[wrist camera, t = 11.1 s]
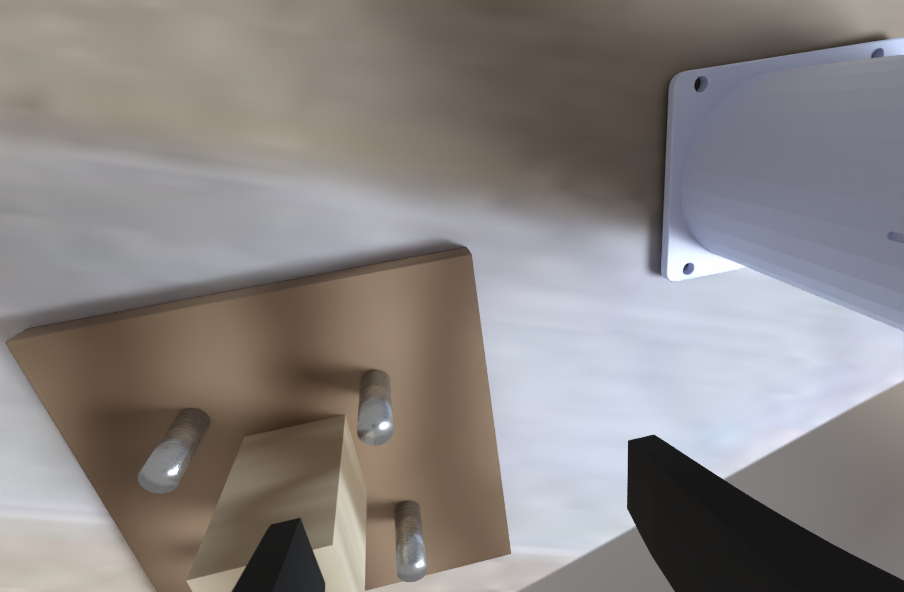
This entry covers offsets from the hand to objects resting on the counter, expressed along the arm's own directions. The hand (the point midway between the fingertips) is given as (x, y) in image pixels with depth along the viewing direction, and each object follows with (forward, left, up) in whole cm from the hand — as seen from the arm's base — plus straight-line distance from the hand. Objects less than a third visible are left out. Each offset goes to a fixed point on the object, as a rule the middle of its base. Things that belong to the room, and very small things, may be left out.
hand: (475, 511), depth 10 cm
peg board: (+6, +5, -9) cm, 12 cm away
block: (+6, +5, -8) cm, 11 cm away
